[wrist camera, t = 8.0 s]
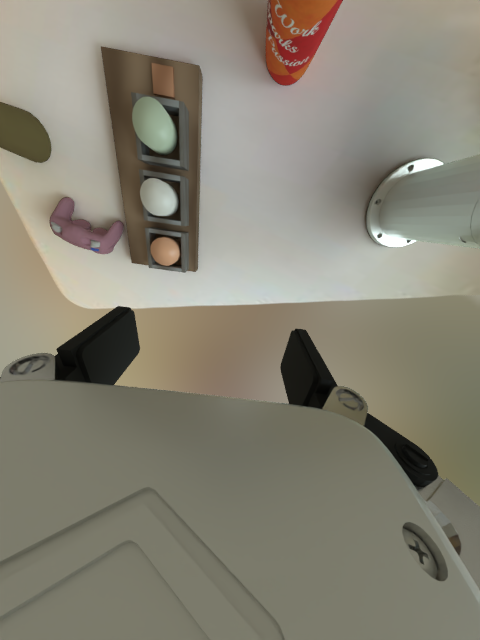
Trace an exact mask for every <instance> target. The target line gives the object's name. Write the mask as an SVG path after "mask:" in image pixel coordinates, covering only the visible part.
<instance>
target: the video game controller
mask: <svg viewBox="0 0 480 640" xmlns="http://www.w3.org/2000/svg"><path fill="white" fill-rule="evenodd" d="M73 211H74V201H73V200H72V199H71V198H69V197H65V198H63V199H61V200H60V202H59V203H58V205H57V207H56V208H55V210H54V212H53V213H52V215H51V217H50V226H51V229H52V231H53V232H54V234H55V235H57V236H59V237H60V238H62V239H63V240H65V241H67V242H69V243H71V244H73V245H76V246H78V247H81V248H84V249H88V250H93V251H94V252H96V253H99V254H108V253H110V252H112V251H113V249H114V246H115V245H116V243H117V242H118V240H119V239H120V237H121V235H122V232H123V223H122V222H121V221H116V222H115V223H113V224H112V226H111V227H110V229H109V230H108V231H107V230H106V229H103V228H95V229H94V230H93V232H91V226H90V223H89V222H87V221H85V220H74V221H72V220H71V217H72V214H73Z"/></svg>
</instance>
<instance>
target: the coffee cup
mask: <svg viewBox="0 0 480 640" xmlns="http://www.w3.org/2000/svg"><path fill="white" fill-rule="evenodd" d="M342 1H343V0H268V10H267V28H266V63H267V67H268V71H269V73H270V75H271V77H272V78H273V79H274V80H275V81H276V82H277V83H278V84H280V85H291V84H293V83H295V82H297V81H298V80H299V79H300V78H301V77H302V75H303V74H304V73H305V71H306V69H307V68H308V66H309V64H310V62H311V60H312V59H313V57H314V55H315V53H316V51H317V49H318V47H319V45H320V43H321V41H322V40H323V38H324V36H325V34H326V32H327V30H328V28H329V26H330V24H331V22H332V20H333V18H334V16H335V14H336V12H337V11H338V9H339V7H340V5H341V3H342Z"/></svg>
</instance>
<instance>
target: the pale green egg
mask: <svg viewBox="0 0 480 640" xmlns="http://www.w3.org/2000/svg"><path fill="white" fill-rule="evenodd" d="M132 121H133V126H134V129H135V132H136V134H137V136H138V137H139V139H140V140H141V141H142V142H143V143H144V144H146V145H147V146H148V147H150V148H151V149H152V150H153V151H155V152H156V153H158V154H160V155H168V154H170V153H171V152H172V151H173V150H174V149H175V147H176V144H177V137H178V136H177V129H176V126H175V124H174V122H173V120H172V119H171V117H170V116H169V114H168V113H167V112H166V110H165V109H164V107H163V106H162V105H161V104H160V103H159V102H158V101H157V100H156V99H154V98H152V97H142V98H140V99H139V100H138V101H137V102H136V103H135V105H134V108H133V112H132Z"/></svg>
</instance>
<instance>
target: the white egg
mask: <svg viewBox="0 0 480 640" xmlns="http://www.w3.org/2000/svg"><path fill="white" fill-rule="evenodd" d="M140 197H141V201H142V203H143V205H144V207H145V208H146V209H147V210H148V211H149V212H150V213H152V214H153V215H157V216H171V215H173V214H174V213H175V212H176V211H177V209H178V206H179V199H178V195H177V193H176V191H175V189H174V188H173V187H172V186H171V185H169V184H168V183H165V182H163V181H161V180H159V179H156V178H149V179H147V180H145V181H144V182H143V184H142V186H141V189H140Z"/></svg>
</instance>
